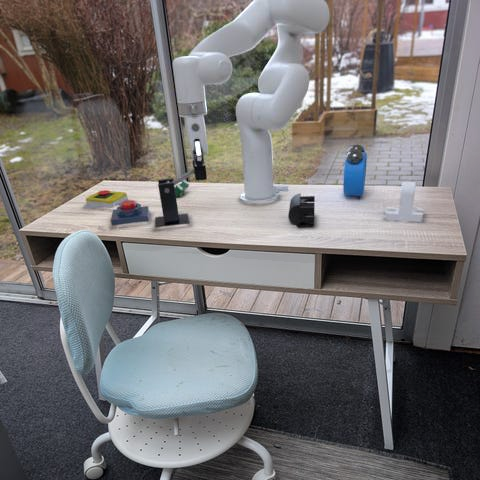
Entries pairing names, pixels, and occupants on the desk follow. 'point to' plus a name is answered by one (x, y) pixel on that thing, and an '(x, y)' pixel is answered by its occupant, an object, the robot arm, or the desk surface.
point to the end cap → (302, 211)
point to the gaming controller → (181, 188)
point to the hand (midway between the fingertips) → (200, 176)
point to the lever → (182, 177)
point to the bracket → (169, 206)
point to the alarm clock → (355, 171)
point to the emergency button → (105, 199)
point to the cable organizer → (405, 206)
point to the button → (128, 205)
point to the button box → (130, 215)
